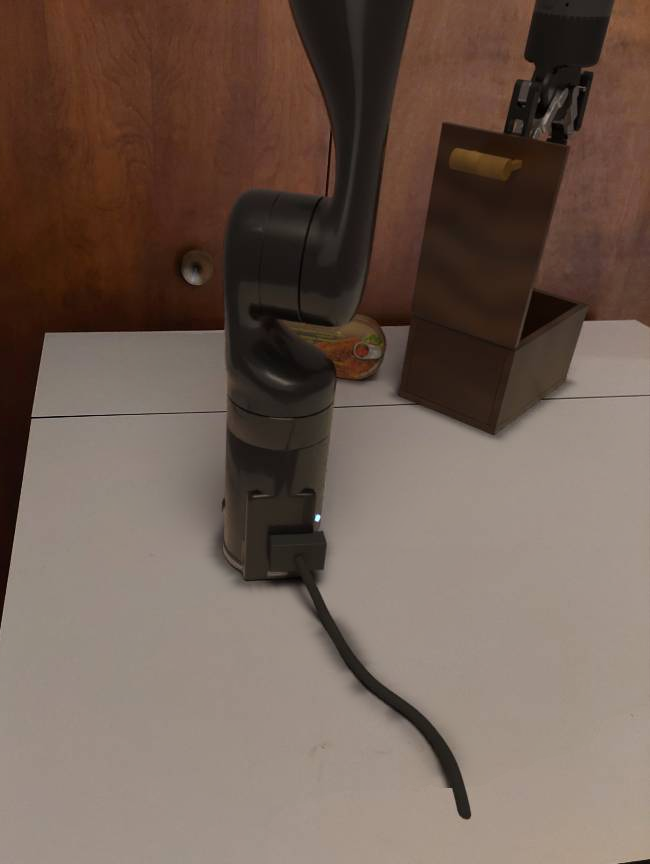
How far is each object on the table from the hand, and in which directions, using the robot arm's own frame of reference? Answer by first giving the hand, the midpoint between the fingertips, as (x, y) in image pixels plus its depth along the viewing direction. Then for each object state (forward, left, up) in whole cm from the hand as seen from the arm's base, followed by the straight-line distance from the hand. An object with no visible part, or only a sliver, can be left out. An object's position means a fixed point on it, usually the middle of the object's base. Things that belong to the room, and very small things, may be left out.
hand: (531, 180), depth 90 cm
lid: (-6, +7, -4) cm, 10 cm away
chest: (0, 0, -26) cm, 26 cm away
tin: (+6, +20, -27) cm, 34 cm away
